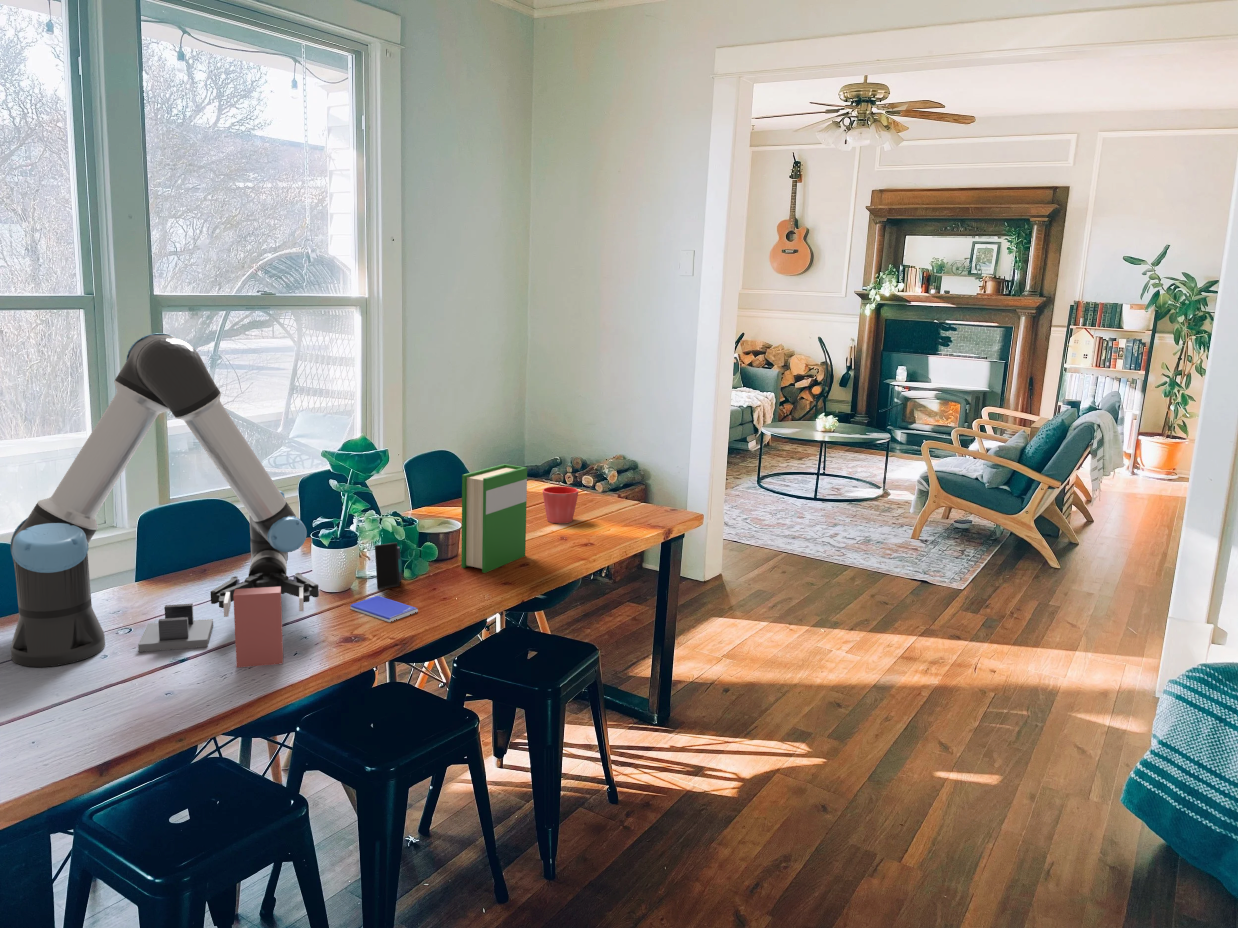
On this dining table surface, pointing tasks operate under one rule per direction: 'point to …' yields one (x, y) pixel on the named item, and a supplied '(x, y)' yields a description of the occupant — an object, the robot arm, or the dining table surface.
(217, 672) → the dining table surface
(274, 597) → the red rectangular block
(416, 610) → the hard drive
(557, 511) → the flower pot
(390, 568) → the speaker
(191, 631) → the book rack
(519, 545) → the hardback book
